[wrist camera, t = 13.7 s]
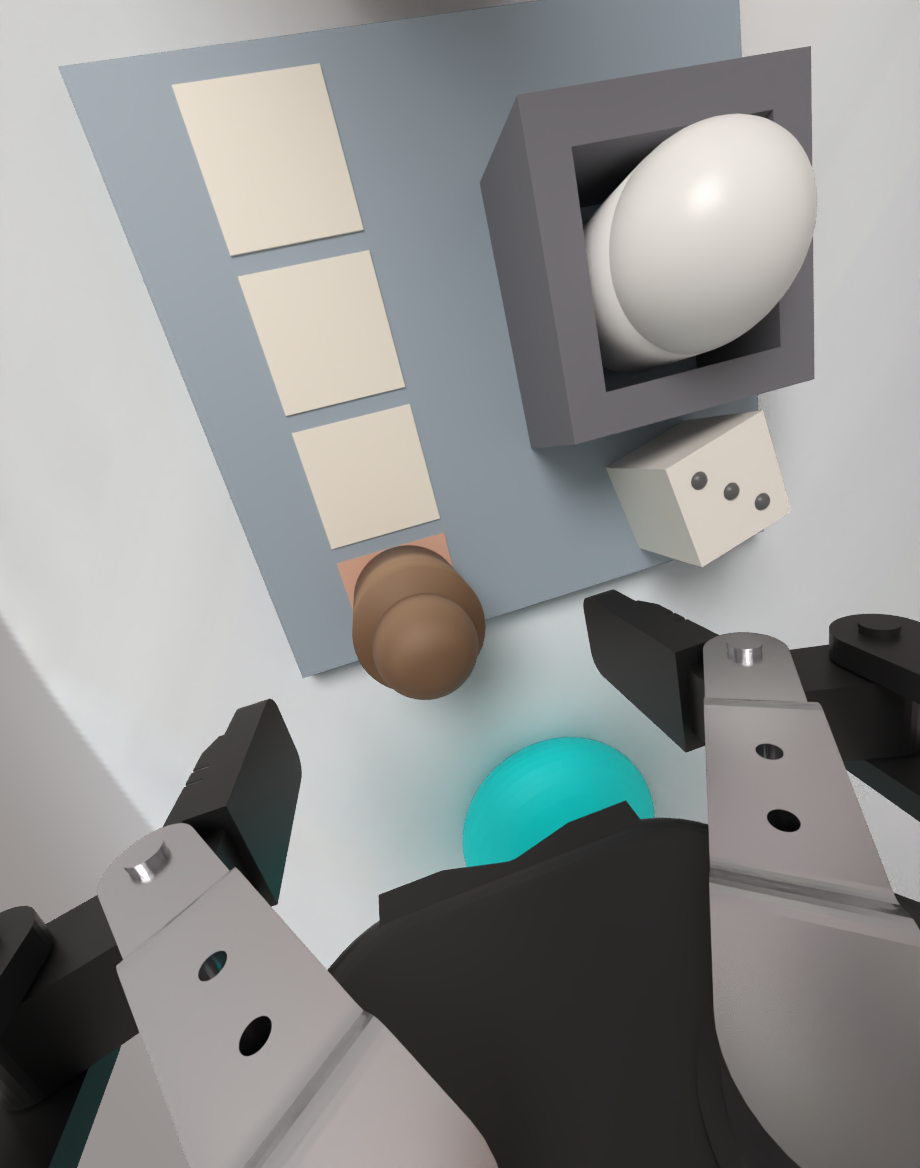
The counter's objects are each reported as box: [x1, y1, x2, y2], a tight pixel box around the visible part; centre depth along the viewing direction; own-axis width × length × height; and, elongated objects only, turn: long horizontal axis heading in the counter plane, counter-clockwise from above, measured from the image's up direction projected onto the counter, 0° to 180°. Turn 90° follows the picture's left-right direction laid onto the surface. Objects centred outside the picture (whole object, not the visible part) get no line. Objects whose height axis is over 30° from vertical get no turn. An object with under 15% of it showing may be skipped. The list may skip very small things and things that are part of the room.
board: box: [58, 0, 814, 678], centre depth 16 cm, size 20×22×5 cm
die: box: [606, 410, 792, 567], centre depth 18 cm, size 4×4×4 cm
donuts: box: [463, 737, 654, 867], centre depth 20 cm, size 10×10×10 cm
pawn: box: [352, 545, 485, 700], centre depth 16 cm, size 4×4×7 cm
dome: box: [583, 113, 817, 373], centre depth 14 cm, size 6×6×6 cm
